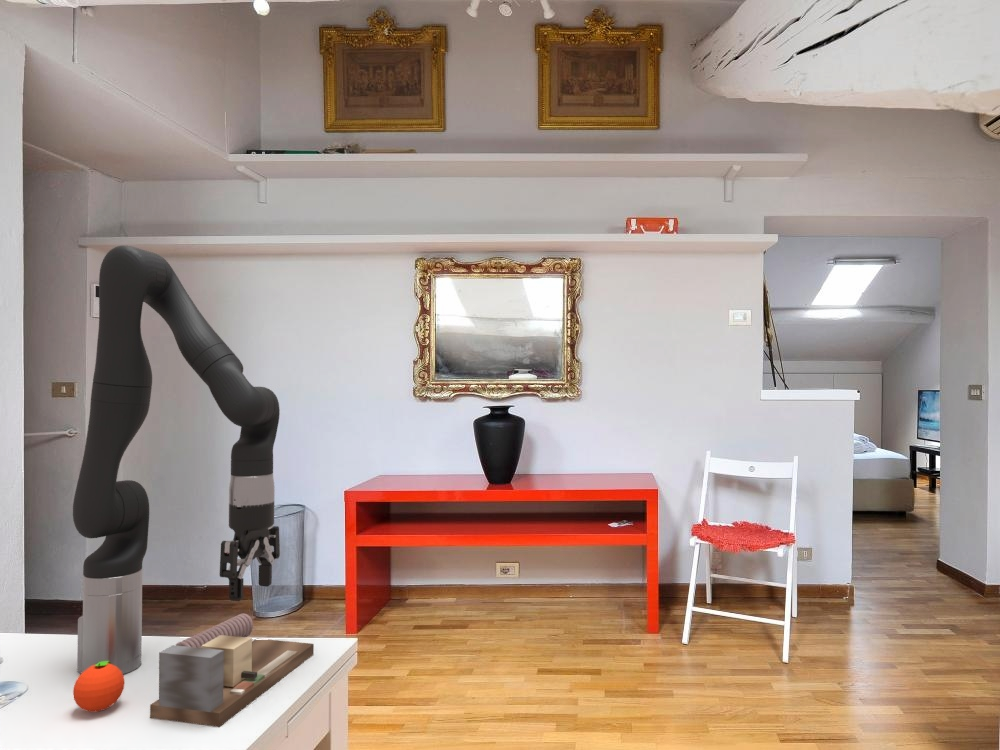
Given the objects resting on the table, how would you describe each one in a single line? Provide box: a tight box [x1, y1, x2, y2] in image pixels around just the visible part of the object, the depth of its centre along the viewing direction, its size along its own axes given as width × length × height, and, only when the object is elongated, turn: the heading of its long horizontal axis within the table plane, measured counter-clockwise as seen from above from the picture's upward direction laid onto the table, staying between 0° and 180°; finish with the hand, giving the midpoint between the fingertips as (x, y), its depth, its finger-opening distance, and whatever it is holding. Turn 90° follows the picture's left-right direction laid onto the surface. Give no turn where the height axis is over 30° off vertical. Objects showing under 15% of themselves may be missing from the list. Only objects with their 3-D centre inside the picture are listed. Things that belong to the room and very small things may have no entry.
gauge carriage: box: [201, 635, 257, 687], centre depth 109 cm, size 8×8×6 cm
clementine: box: [72, 661, 125, 713], centre depth 106 cm, size 8×7×7 cm
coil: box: [175, 613, 254, 648], centre depth 129 cm, size 5×5×18 cm
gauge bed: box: [149, 638, 315, 728], centre depth 115 cm, size 12×28×10 cm, turn 167°
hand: (251, 592), depth 118 cm, fingers open, 8 cm apart
